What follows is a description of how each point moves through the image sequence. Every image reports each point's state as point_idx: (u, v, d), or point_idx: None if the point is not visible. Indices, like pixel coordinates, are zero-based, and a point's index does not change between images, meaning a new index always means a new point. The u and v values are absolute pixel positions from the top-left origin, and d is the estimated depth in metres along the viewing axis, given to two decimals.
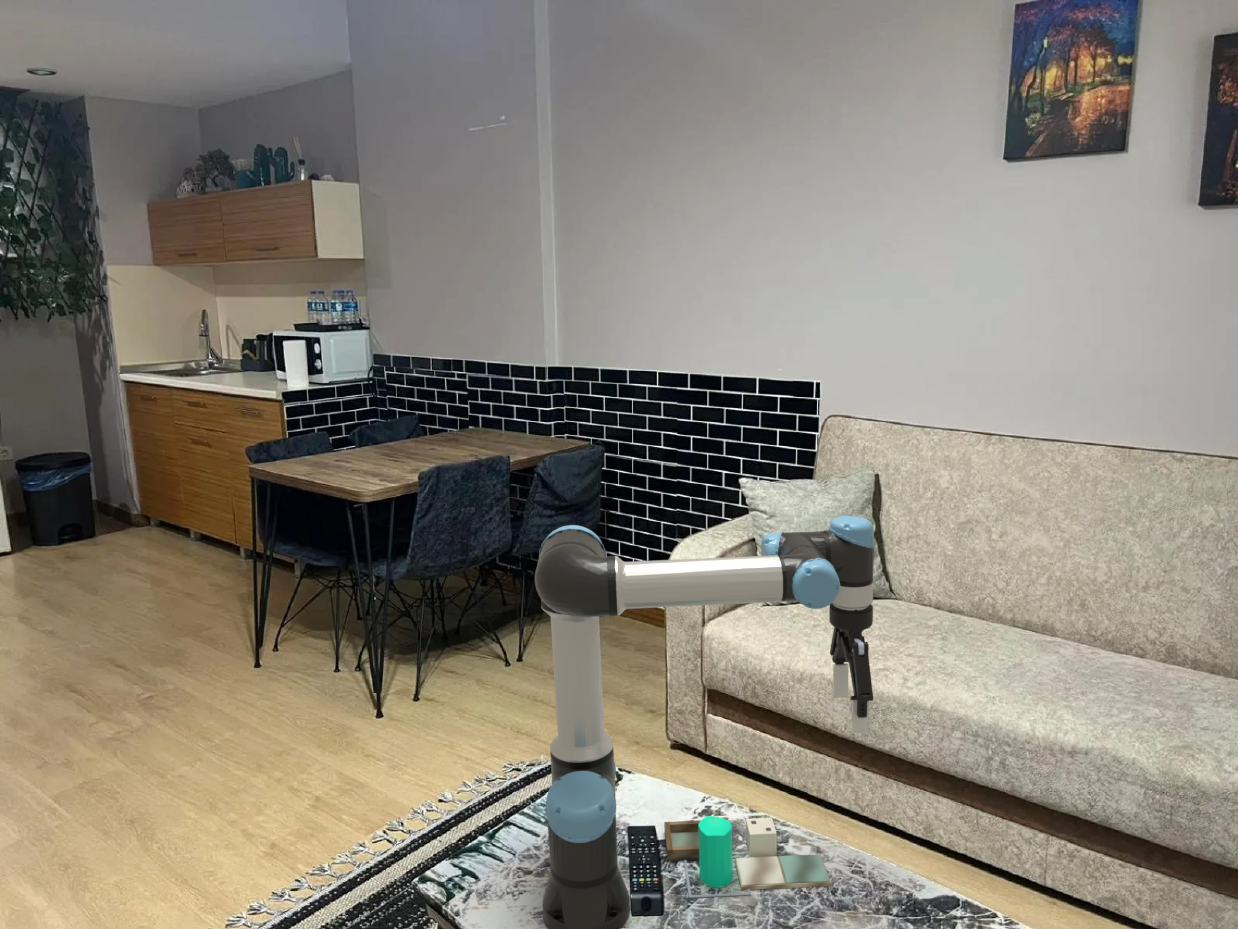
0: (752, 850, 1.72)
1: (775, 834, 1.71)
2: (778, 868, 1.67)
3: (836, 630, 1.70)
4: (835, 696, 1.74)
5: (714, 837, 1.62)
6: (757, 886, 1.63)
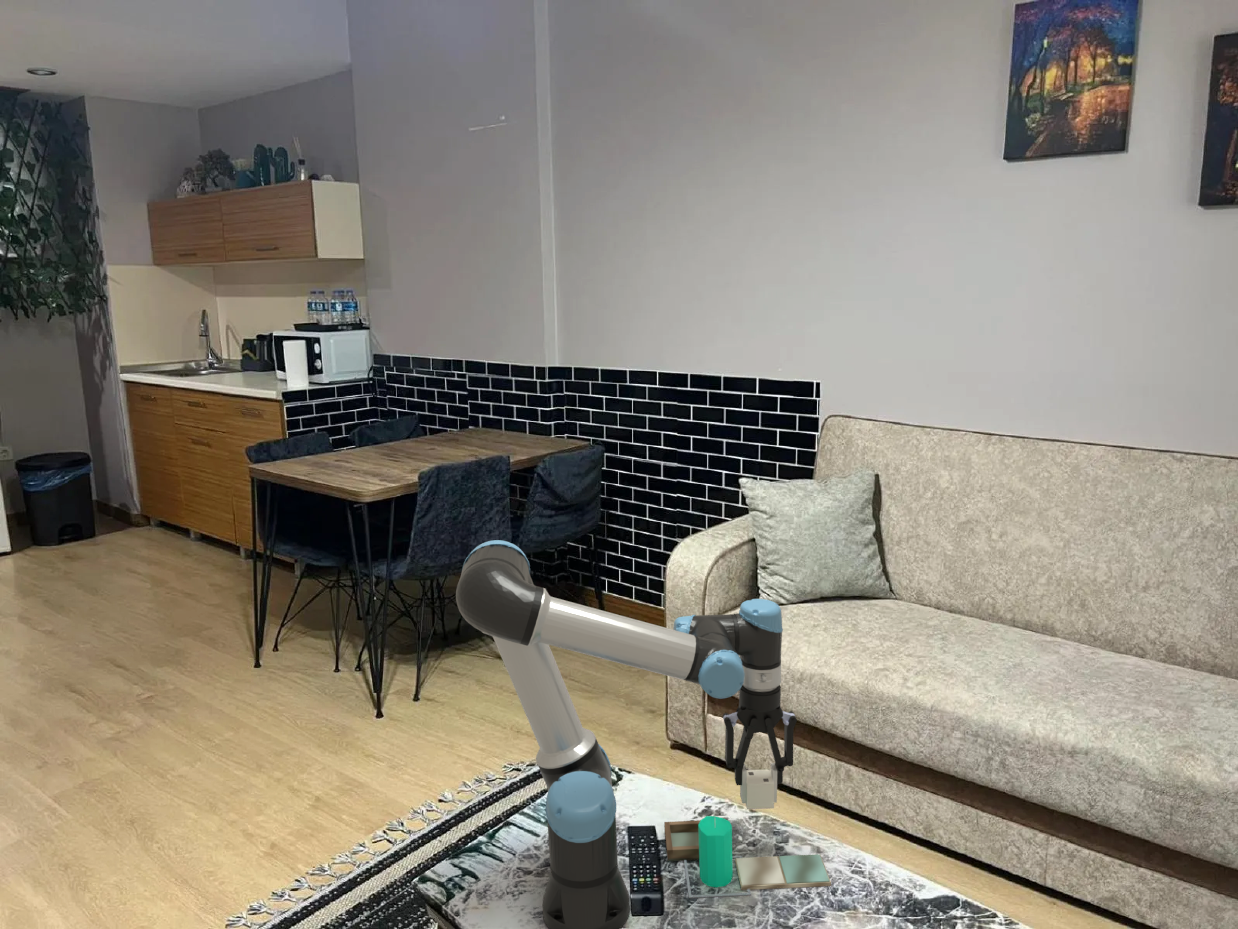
0: (749, 801, 1.70)
1: (773, 785, 1.69)
2: (778, 868, 1.67)
3: (785, 723, 1.70)
4: None
5: (714, 837, 1.62)
6: (757, 886, 1.63)
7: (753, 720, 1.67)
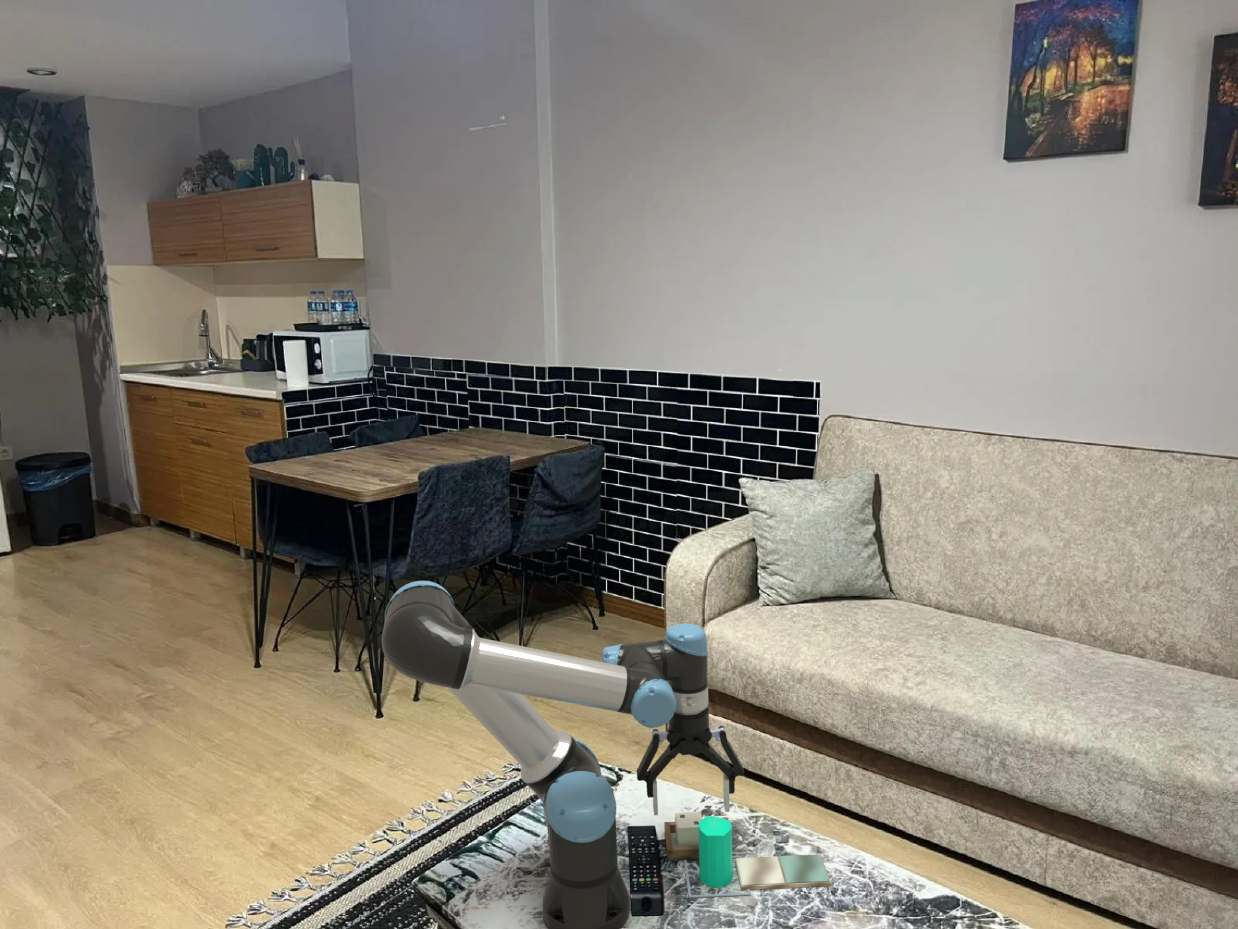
0: (679, 844, 1.73)
1: None
2: (778, 868, 1.67)
3: None
4: None
5: (714, 837, 1.62)
6: (757, 886, 1.63)
7: (682, 742, 1.70)
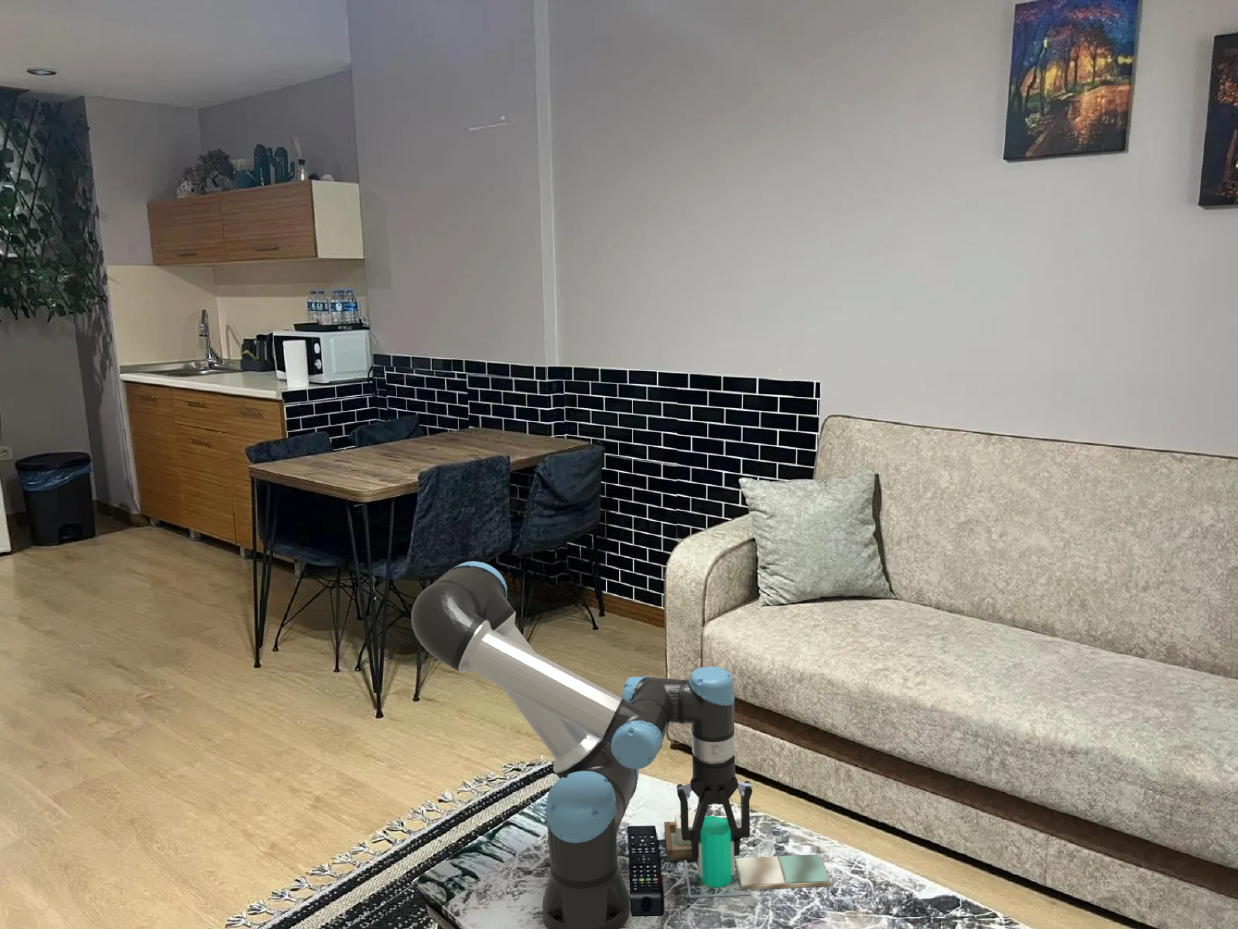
0: (679, 844, 1.73)
1: None
2: (778, 868, 1.67)
3: None
4: None
5: (714, 837, 1.62)
6: (757, 886, 1.63)
7: (707, 792, 1.61)
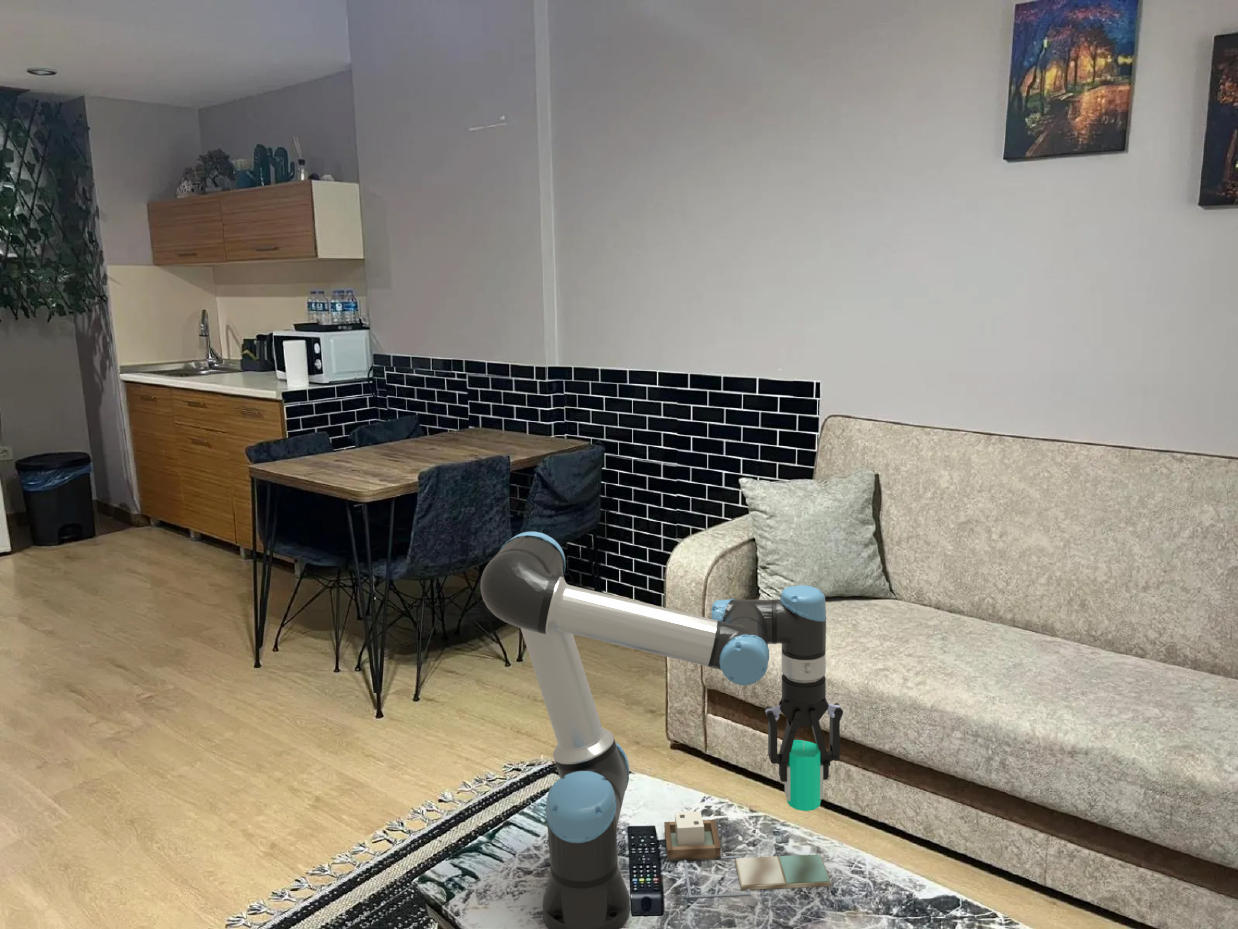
0: (679, 844, 1.73)
1: (702, 827, 1.73)
2: (778, 868, 1.67)
3: (830, 716, 1.62)
4: None
5: (804, 759, 1.59)
6: (757, 886, 1.63)
7: (797, 713, 1.59)
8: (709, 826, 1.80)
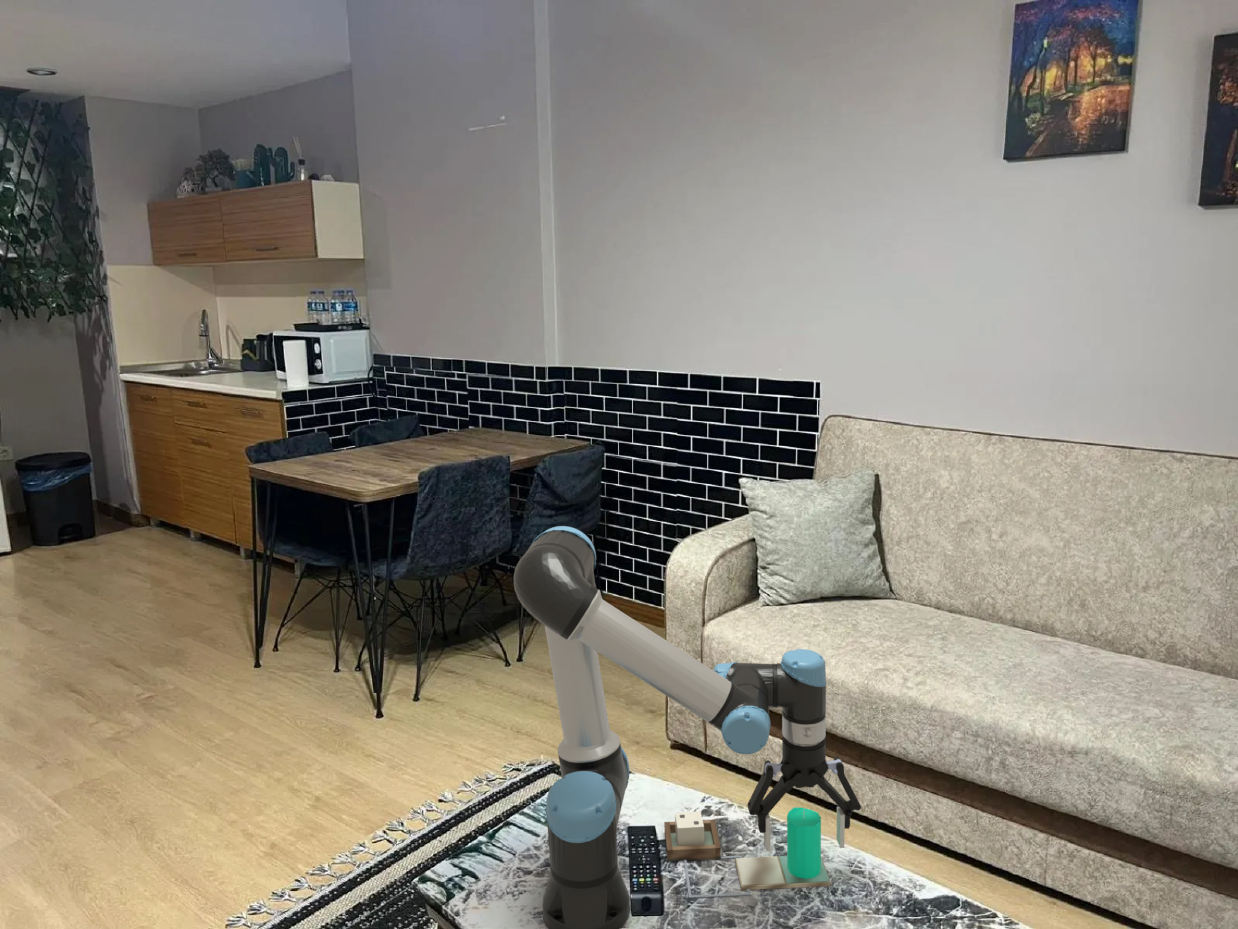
0: (679, 844, 1.73)
1: (702, 827, 1.73)
2: (778, 868, 1.67)
3: None
4: None
5: (804, 828, 1.62)
6: (757, 886, 1.63)
7: (798, 775, 1.61)
8: (709, 826, 1.80)
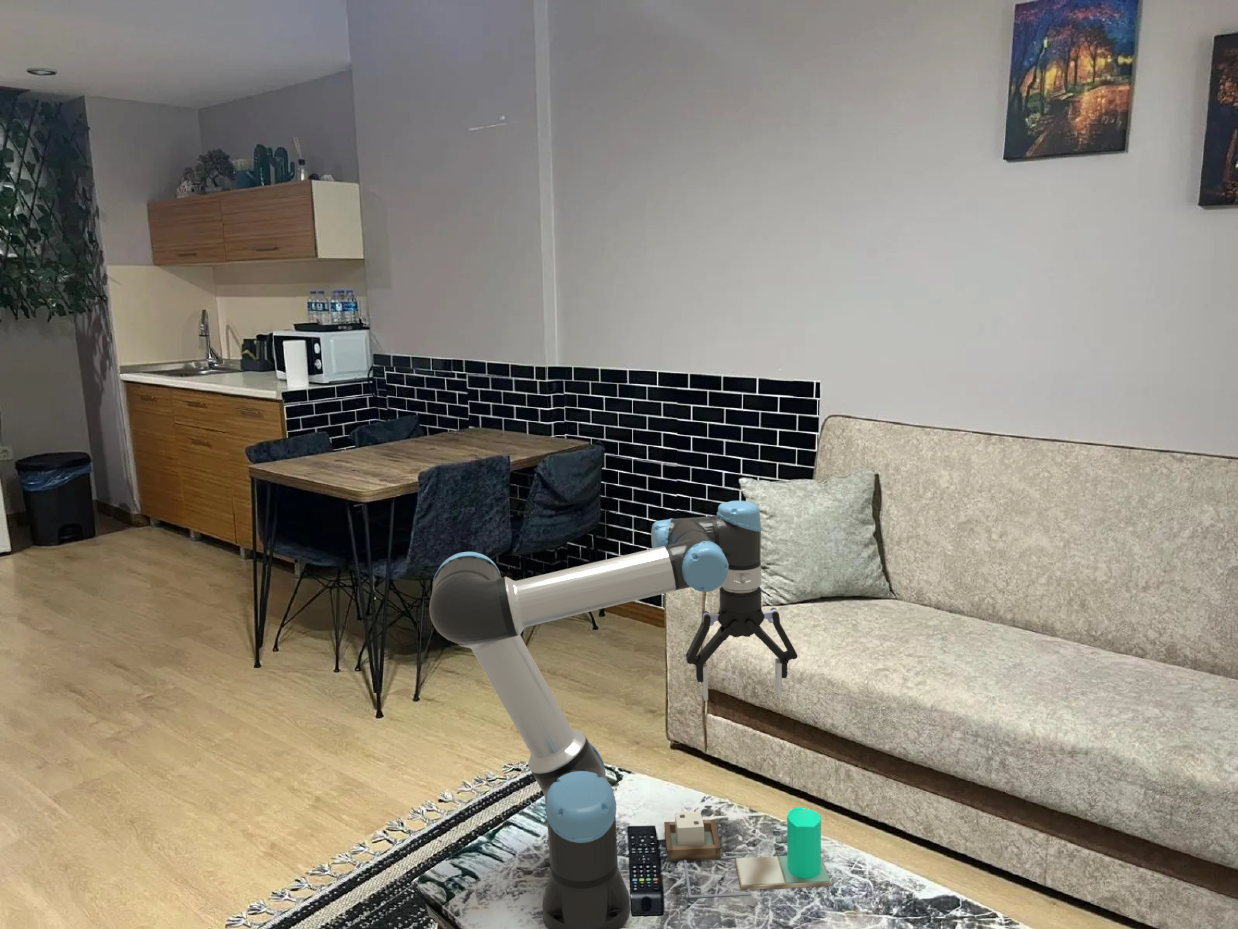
0: (679, 844, 1.73)
1: (702, 827, 1.73)
2: (778, 868, 1.67)
3: None
4: (775, 690, 1.71)
5: (804, 828, 1.62)
6: (757, 886, 1.63)
7: (735, 623, 1.65)
8: (709, 826, 1.80)
